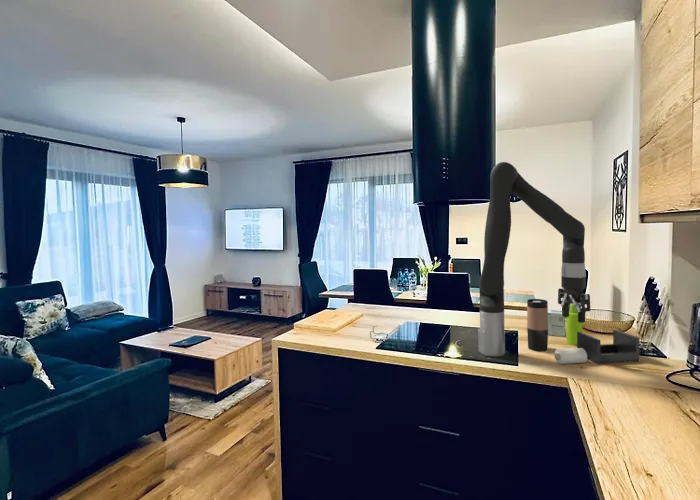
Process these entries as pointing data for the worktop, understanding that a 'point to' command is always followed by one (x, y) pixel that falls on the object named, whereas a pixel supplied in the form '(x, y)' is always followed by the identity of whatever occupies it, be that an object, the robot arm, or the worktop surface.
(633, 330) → the worktop surface
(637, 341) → the holder
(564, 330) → the light bulb box
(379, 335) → the wall mount rack
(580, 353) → the kitchen roll
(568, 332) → the soap dispenser
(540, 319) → the travel mug
